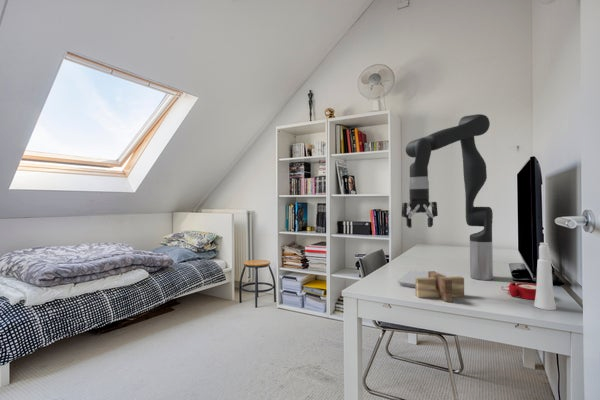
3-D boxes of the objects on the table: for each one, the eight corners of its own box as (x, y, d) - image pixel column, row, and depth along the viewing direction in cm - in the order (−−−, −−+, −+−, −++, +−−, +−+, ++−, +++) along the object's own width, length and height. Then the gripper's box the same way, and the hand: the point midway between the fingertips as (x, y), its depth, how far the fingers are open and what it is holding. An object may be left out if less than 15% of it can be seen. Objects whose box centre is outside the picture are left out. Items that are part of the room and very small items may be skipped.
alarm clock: (553, 293, 114) (504, 278, 122) (548, 309, 115) (500, 294, 123) (549, 286, 123) (504, 273, 131) (545, 301, 124) (500, 287, 132)
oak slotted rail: (415, 295, 126) (415, 277, 126) (460, 294, 126) (460, 276, 126) (418, 297, 123) (417, 279, 123) (464, 296, 124) (464, 278, 124)
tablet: (446, 278, 153) (446, 273, 153) (435, 292, 131) (435, 286, 131) (411, 274, 162) (411, 269, 162) (396, 286, 140) (395, 281, 140)
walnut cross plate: (428, 290, 131) (428, 271, 131) (434, 290, 132) (434, 271, 132) (445, 301, 117) (445, 280, 117) (452, 301, 118) (451, 279, 118)
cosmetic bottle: (540, 309, 108) (539, 244, 107) (530, 304, 113) (529, 241, 113) (560, 310, 107) (559, 244, 106) (549, 304, 113) (548, 241, 112)
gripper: (405, 188, 129) (406, 228, 129) (440, 187, 130) (441, 227, 130) (398, 188, 136) (399, 227, 137) (431, 187, 137) (432, 225, 137)
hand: (419, 227), depth 133 cm, fingers open, 8 cm apart
